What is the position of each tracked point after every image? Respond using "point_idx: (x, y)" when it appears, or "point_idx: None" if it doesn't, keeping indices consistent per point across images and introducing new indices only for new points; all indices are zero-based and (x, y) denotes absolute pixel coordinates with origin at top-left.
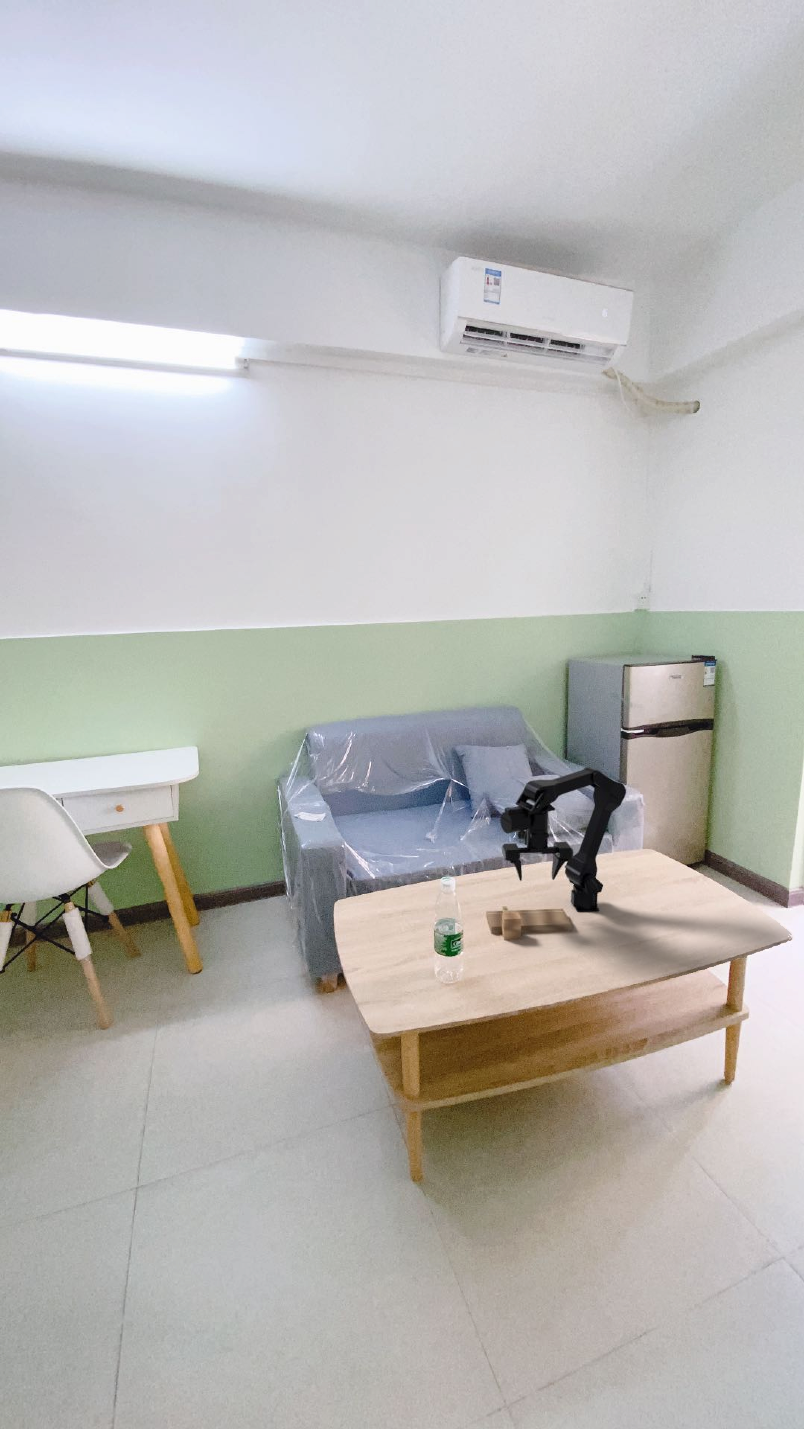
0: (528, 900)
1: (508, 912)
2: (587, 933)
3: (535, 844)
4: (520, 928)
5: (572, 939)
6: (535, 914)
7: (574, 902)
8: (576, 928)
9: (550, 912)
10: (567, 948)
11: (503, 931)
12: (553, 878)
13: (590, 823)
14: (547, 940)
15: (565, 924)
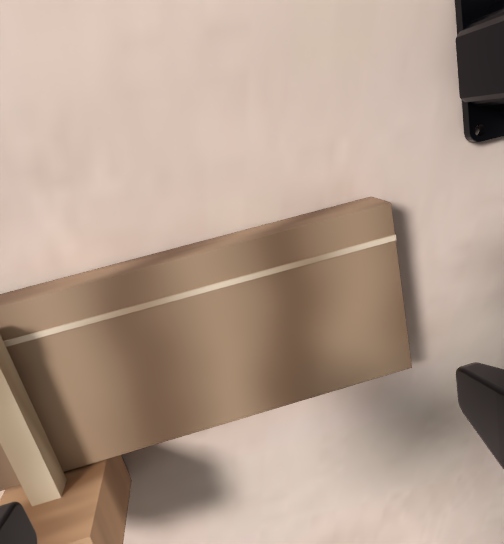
0: (148, 8)
1: (14, 405)
2: (462, 345)
3: None
4: (121, 531)
5: (382, 410)
6: (207, 314)
7: (484, 98)
8: (420, 313)
9: (306, 269)
10: (348, 480)
11: None
12: (479, 429)
13: None
14: (264, 447)
15: (376, 375)
